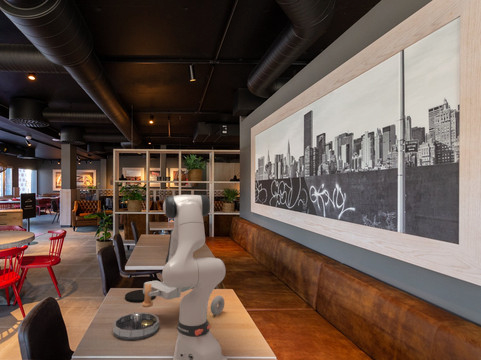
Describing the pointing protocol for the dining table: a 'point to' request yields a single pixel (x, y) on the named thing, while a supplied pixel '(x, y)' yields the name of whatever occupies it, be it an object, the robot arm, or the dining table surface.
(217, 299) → the donut
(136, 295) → the wireless charger
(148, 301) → the peg on round base
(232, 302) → the dining table surface
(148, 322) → the bowl
